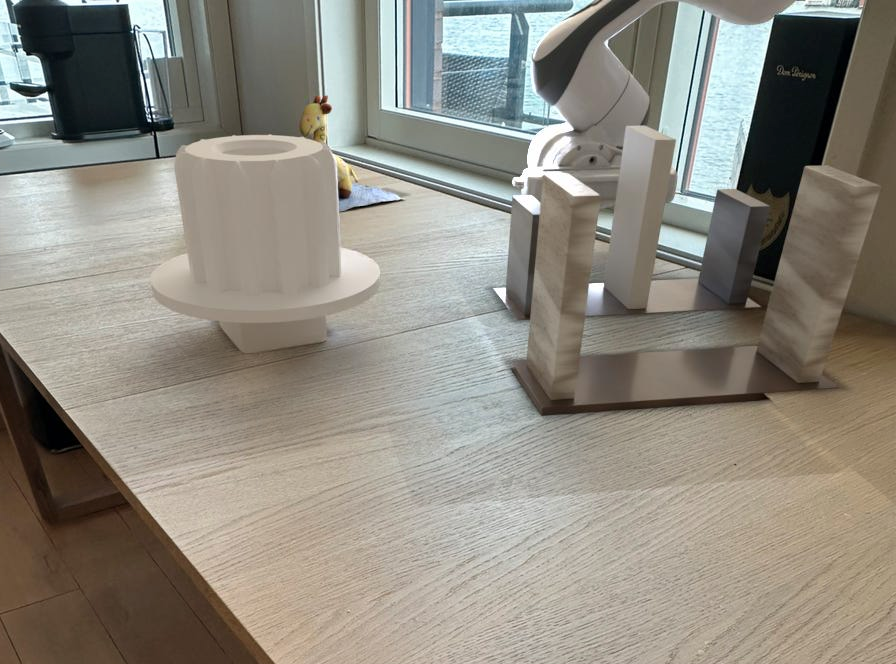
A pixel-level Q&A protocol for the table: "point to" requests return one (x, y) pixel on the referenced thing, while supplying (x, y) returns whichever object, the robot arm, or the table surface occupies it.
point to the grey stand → (716, 287)
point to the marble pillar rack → (700, 370)
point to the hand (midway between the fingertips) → (617, 199)
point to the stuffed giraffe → (340, 160)
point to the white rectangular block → (638, 214)
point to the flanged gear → (262, 242)
